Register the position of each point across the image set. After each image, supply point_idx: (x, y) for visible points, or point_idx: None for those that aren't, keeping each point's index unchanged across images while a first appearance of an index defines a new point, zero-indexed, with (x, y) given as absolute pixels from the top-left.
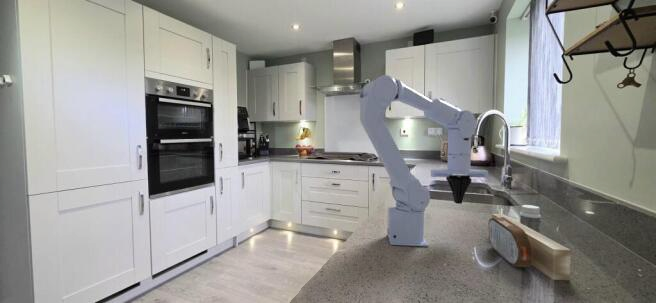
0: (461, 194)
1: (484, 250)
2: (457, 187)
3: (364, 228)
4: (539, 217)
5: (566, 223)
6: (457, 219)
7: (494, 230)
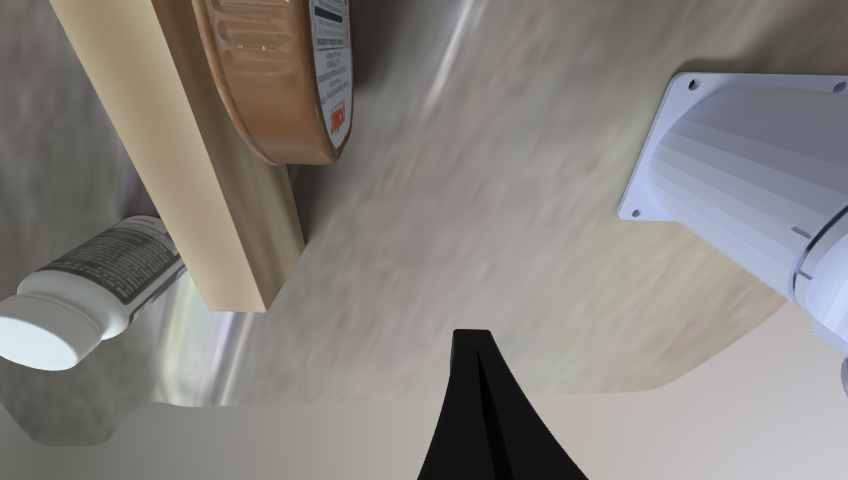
0: (473, 390)
1: (402, 56)
2: (541, 465)
3: None
4: (28, 276)
5: None
6: (382, 368)
7: (328, 64)
